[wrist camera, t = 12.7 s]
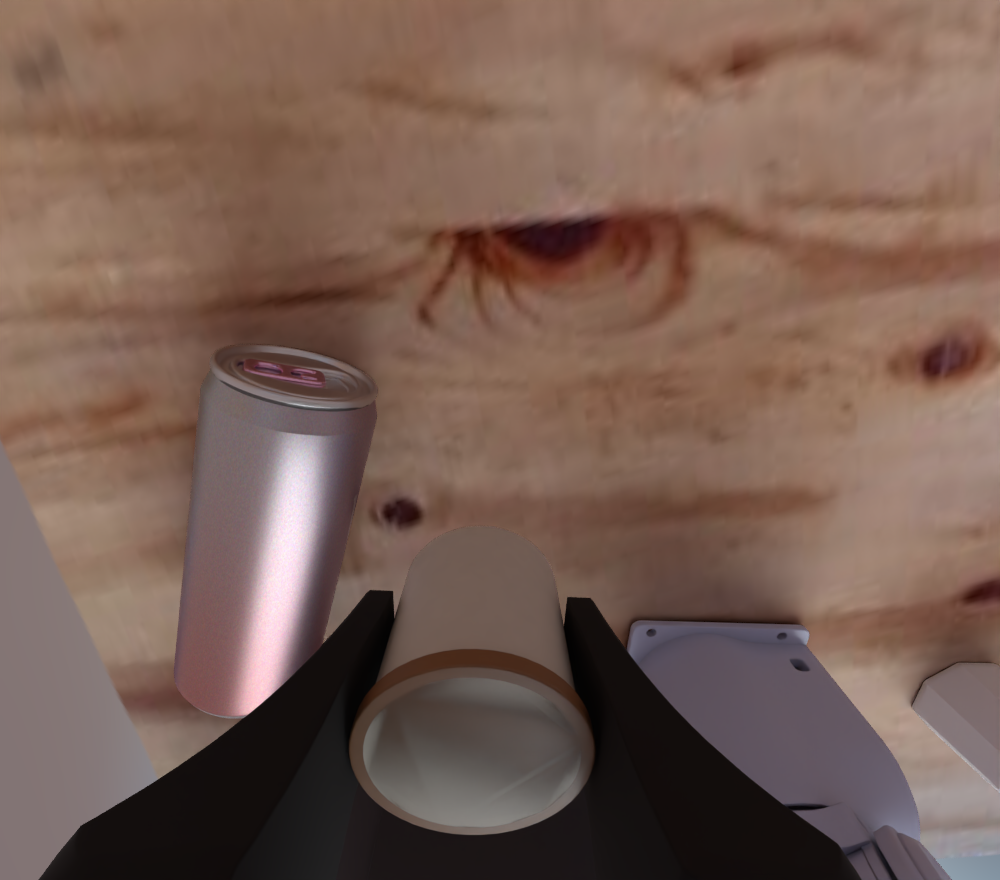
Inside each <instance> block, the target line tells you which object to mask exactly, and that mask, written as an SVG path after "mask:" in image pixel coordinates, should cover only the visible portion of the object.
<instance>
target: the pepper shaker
mask: <svg viewBox="0 0 1000 880" xmlns="http://www.w3.org/2000/svg"><path fill="white" fill-rule="evenodd" d="M912 709H913V710H914V711H915V712H916V713H917V715H918V716H919V717H920V718H921V719H922V720H923V722H924V723H925V724H926V725H927V726H928V727H929V728H930V729H931V730H932V731H933V732H934V733H935V734H936V735H937V736H938V737H940V738H941V739H942V740H943V741H944V742H945V743H946V744H947V745H948V746H949V747H950V748H951V749H952V750H954V751H955V752H956V753H957V754H958V755H959V756H960V757H961V758H962V759H963V760H964V761H965V762H966V763H968V764H969V765H970V766H971V767H972V768H973V769H974V770H975V771H976V772H977V773H978V774H979V775H981V776H982V777H983V778H984V779H985V780H986V781H987V782H988V783H989V784H990V785H991V786H992V787H993V788H995V789H996V790H997V791H998V792H999V793H1000V667H999V666H998V665H997V664H994V663H956V664H954V665H952V666H951V667H949V668H947V669H945V670H943V671H941V672H939V673H938V674H936V675H934V676H932V677H930V678H928V679H926V680H925V681H924V682H923V684H922V686H921V688H920V690H919V693H918V695H917V697H916V699H915V701H914V703H913V705H912Z"/></svg>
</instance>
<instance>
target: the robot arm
mask: <svg viewBox="0 0 1000 880" xmlns="http://www.w3.org/2000/svg"><path fill="white" fill-rule="evenodd" d="M393 622H394V601H393V591H378V590H370V591H369V592H367V593H366V594H365V596H364V597H363V598H362V599H361V601H360V602H359V603H358V604H357V606H356V607H355V608H354V609H353V610H352V612H351V613H350V614H349V615H348V616H347V618H346V619H345V620H344V621H343V622H342V623H341V625H340V626H339V627H338V628H337V629H336V630H335V631H334V632H333V634H332V635H331V636H330V637H329V638H328V639H327V640H326V641H325V642H324V643H323V645H322V646H321V647H320V648H319V649H318V650H317V651H316V652H315V653H314V654H313V655H312V656H311V657H310V658H309V659H308V660H307V661H306V662H305V663H304V664H303V665H302V666H301V667H300V668H299V669H298V670H297V671H296V672H295V673H294V674H293V675H292V676H291V677H290V678H289V679H288V680H287V681H286V682H285V683H284V684H283V685H282V686H280V687H279V688H278V689H277V690H276V691H275V692H274V693H273V694H272V695H271V696H269V697H268V698H267V699H266V700H265V701H264V702H262V703H261V704H260V705H259V706H258V707H257V708H255V709H254V710H253V711H252V712H251V713H249V714H248V715H247V716H246V717H244V718H243V719H242V720H241V721H239V722H238V723H237V724H236V725H234V726H233V727H232V728H231V729H229V730H228V731H227V732H225V733H224V734H223V735H222V736H220V737H219V738H218V739H216V740H215V741H214V742H212V743H211V744H210V745H208V746H207V747H205V748H204V749H203V750H201V751H200V752H198V753H197V754H195V755H194V756H192V757H191V758H190V759H188V760H187V761H185V762H184V763H182V764H181V765H179V766H178V767H176V768H175V769H173V770H172V771H170V772H169V773H167V774H166V775H164V776H163V777H161V778H160V779H158V780H157V781H155V782H154V783H152V784H151V785H149V786H147V787H146V788H144V789H142V790H141V791H139V792H138V793H136V794H134V795H132V796H131V797H129V798H128V799H126V800H124V801H122V802H121V803H119V804H117V805H116V806H114V807H112V808H111V809H109V810H108V811H106V812H104V813H102V814H101V815H99V816H98V817H96V818H94V819H92V820H90V821H88V822H87V823H85V824H83V825H82V826H80V828H79V829H78V830H77V831H76V833H75V834H74V835H73V836H72V837H71V839H70V840H69V841H68V842H67V843H66V845H65V846H64V847H63V848H62V849H61V851H60V852H59V853H58V854H57V856H56V857H55V859H54V860H53V861H52V862H51V864H50V865H49V867H48V868H47V869H46V871H45V872H44V874H43V875H42V876H41V877H40V879H39V880H336V877H337V872H338V868H339V863H340V859H341V854H342V849H343V845H344V841H345V836H346V832H347V827H348V823H349V819H350V814H351V810H352V805H353V801H354V798H355V794H356V791H357V787H358V783H359V782H358V780H357V778H356V777H355V774H354V772H353V769H352V766H351V762H350V757H349V738H350V732H351V729H352V725H353V722H354V719H355V716H356V713H357V711H358V708H359V706H360V704H361V702H362V700H363V699H364V697H365V696H366V694H367V693H368V692H369V691H370V689H371V688H372V687H373V686H374V685H375V684H376V681H377V677H378V674H379V670H380V667H381V663H382V660H383V657H384V653H385V650H386V646H387V643H388V639H389V636H390V633H391V629H392V626H393ZM649 629H653V630H651V631H648V630H649ZM564 631H565V637H566V642H567V648H568V653H569V659H570V664H571V670H572V675H573V681H574V686H575V692H576V693H577V694H578V696H579V697H580V698H581V700H582V701H583V703H584V705H585V707H586V709H587V711H588V713H589V716H590V720H591V723H592V728H593V733H594V738H595V747H596V751H595V761H594V765H593V769H592V772H591V774H590V777H589V779H588V781H587V783H586V784H585V786H584V793H585V799H586V804H587V811H588V819H589V827H590V834H591V842H592V850H593V858H594V867H595V876H596V880H952V879H951V878H950V877H949V876H948V874H947V873H946V872H945V871H944V869H943V868H942V867H941V866H940V864H939V863H938V862H937V861H936V860H935V858H934V857H933V856H932V855H931V854H930V853H929V851H928V850H927V849H926V848H925V847H924V846H923V845H922V844H921V843H920V822H919V816H918V811H917V807H916V804H915V801H914V798H913V795H912V793H911V790H910V787H909V785H908V783H907V781H906V778H905V776H904V774H903V772H902V770H901V768H900V766H899V764H898V763H897V761H896V759H895V758H894V756H893V755H892V753H891V751H890V750H889V748H888V747H887V746H886V744H885V743H884V742H883V740H882V739H881V738H880V737H879V735H878V734H877V733H876V732H875V730H874V729H873V728H872V727H871V725H870V724H869V723H868V722H867V720H866V719H865V718H864V717H863V716H862V714H861V713H860V712H859V711H858V709H857V708H856V707H855V706H854V704H853V703H852V702H851V701H850V699H849V698H848V697H847V696H846V694H845V693H844V692H843V691H842V689H841V688H840V687H839V686H838V685H837V683H836V682H835V681H834V680H833V678H832V677H831V676H830V675H829V673H828V672H827V671H826V670H825V668H824V667H823V666H822V665H821V663H820V662H819V661H818V660H817V658H816V657H815V656H814V655H813V654H812V652H811V651H810V650H809V649H808V647H807V646H806V644H807V641H808V638H809V631H808V630H807V629H806V628H805V627H804V626H803V625H793V624H756V623H719V622H683V621H646V620H640V621H636V622H634V623H633V624H632V626H631V629H630V634H629V640H628V645H627V650H626V649H625V647H624V646H623V645H622V643H621V642H620V640H619V639H618V638H617V636H616V635H615V633H614V632H613V630H612V629H611V628H610V626H609V625H608V623H607V622H606V620H605V619H604V617H603V616H602V614H601V613H600V611H599V610H598V608H597V606H596V605H595V603H594V602H593V601H592V600H591V598H577V597H567V604H566V613H565V621H564Z"/></svg>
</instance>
